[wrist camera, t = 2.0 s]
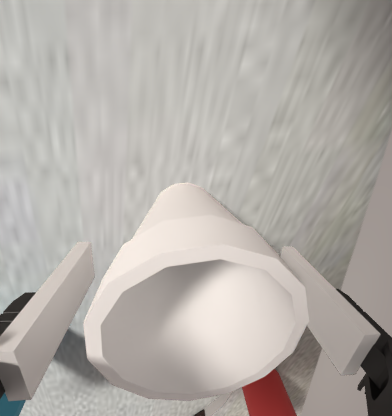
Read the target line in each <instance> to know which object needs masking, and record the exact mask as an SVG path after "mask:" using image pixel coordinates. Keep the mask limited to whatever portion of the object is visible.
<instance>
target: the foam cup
mask: <svg viewBox="0 0 392 416" xmlns="http://www.w3.org/2000/svg"><path fill="white" fill-rule="evenodd" d="M308 322H309V316H308V307H307V298H306V289H305V286H304V285H303V284H302V283H301V282H300V280H299V279H298V278H297V277H296V275H295V274H294V273H293V272H292V270H291V269H290V268H289V267H288V266H287V264H286V263H285V262H284V261H283V259H282V258H281V257H280V256H279V254H278V253H277V252H276V251H275V250H274V249H273V248H272V247H271V246H270V245H269V244H268V243H267V242H266V241H265V240H264V239H263V238H262V237H261V236H260V235H259V233H258V232H257V231H256V230H255V229H254V228H253V227H250V226H247V225H244V224H242V223H241V222H240V221H239V220H238V219H237V218H236V217H234V216H233V215H232V214H231V213H230V212H229V211H228V210H227V209H226V208H224V207H223V206H222V205H221V204H220V203H219V202H218V201H217V200H216V199H215V198H213V197H212V196H211V195H210V194H209V193H208V192H207V191H206V190H205V189H203V188H202V187H200V186H197V185H194V184H191V183H180V184H173V185H171V186H170V187H168V188H167V189H165V190H163V191H162V192H161V193H160V194H159V196H158V197H157V199H156V201H155V202H154V204H153V206H152V207H151V209H150V210H149V212H148V214H147V215H146V217H145V219H144V220H143V222H142V223H141V225H140V227H139V228H138V230H137V231H136V233H135V235H134V236H133V238H132V240H130V241H128V242H127V243H125V244H123V246H122V247H121V249H120V251H119V252H118V254H117V256H116V257H115V259H114V261H113V262H112V264H111V266H110V267H109V269H108V270H107V272H106V274H105V275H104V277H103V279H102V281H101V284H100V286H99V288H98V290H97V293H96V295H95V297H94V300H93V302H92V304H91V306H90V309H89V311H88V313H87V315H86V318H85V320H84V322H83V325H84V334H85V343H86V352H87V359H88V360H89V361H90V362H91V363H92V365H93V366H94V367H95V368H96V369H97V370H98V371H99V372H100V373H101V374H102V375H103V376H104V377H105V378H106V379H107V380H108V381H109V382H110V383H111V384H112V385H114V386H116V387H119V388H122V389H124V390H127V391H130V392H132V393H135V394H137V395H140V396H143V397H145V398H148V399H165V400H183V401H191V400H196V399H201V398H206V397H211V396H217V395H222V394H227V393H230V392H232V391H235V390H237V389H239V388H241V387H243V386H245V385H248V384H250V383H252V382H254V381H256V380H259V379H261V378H263V377H265V376H266V375H267V374H269V373H270V372H271V371H272V370H273V369H274V368H276V367H277V366H278V365H279V364H280V363H281V362H282V361H284V360H285V359H286V358H287V357H288V356H289V355H291V354H292V353H293V352H294V350H295V348H296V346H297V344H298V342H299V340H300V338H301V336H302V334H303V332H304V330H305V328H306V326H307V324H308Z"/></svg>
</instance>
